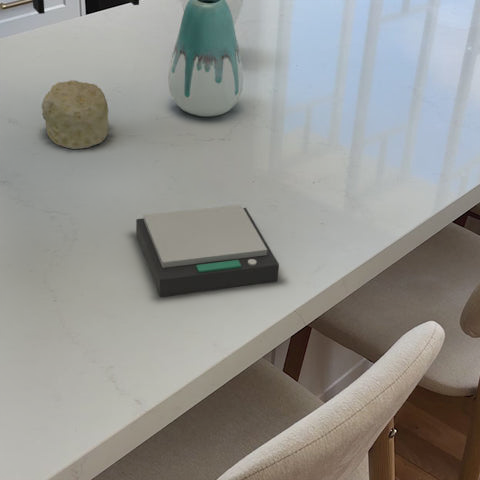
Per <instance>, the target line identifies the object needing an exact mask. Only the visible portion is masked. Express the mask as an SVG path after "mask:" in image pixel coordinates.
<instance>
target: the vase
mask: <svg viewBox="0 0 480 480" xmlns="http://www.w3.org/2000/svg"><path fill="white" fill-rule="evenodd" d="M242 63H243V62H242V55H241V51H240V46H239V42H238V38H237V34H236V29H235V25H234V22H233V18H232V14H231V11H230V9H229V6H228V4H227V3H226V1H225V0H189V1H188V3H187V5H186V7H185V10H184V11H183V14H182V17H181V22H180V26H179V30H178V34H177V38H176V40H175V44H174V47H173V50H172V54H171V58H170V63H169V68H168V76H167V77H168V78H167V79H168V89H169V93H170V96H171V97H172V100H173V101H174V102H175V104H176V105H177V106H178V107H179V108H180V109H181V110H182V111H184V112H186V113H187V114H190V115H193V116H197V117H217V116H220V115H224V114H226V113H228V112H230V110H231V109H233V108H234V107H235V106H236V104H237V103H238V101H239V100H240V97H241V95H242V92H243V88H244V87H243V85H244V71H243V64H242Z"/></svg>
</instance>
